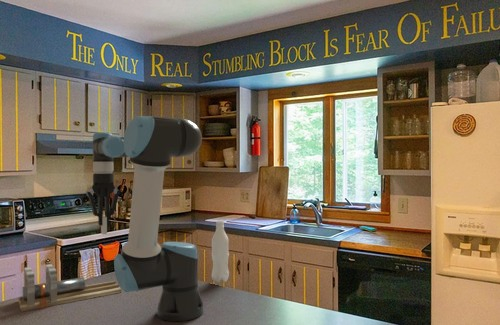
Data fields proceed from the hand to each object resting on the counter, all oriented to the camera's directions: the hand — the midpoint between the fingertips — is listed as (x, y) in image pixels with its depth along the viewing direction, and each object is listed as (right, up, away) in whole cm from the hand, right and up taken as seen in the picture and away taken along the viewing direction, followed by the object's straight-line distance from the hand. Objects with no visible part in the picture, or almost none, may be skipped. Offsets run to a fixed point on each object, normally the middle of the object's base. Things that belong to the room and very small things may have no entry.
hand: (104, 233), depth 156 cm
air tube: (-15, -21, -10) cm, 27 cm away
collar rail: (-10, -22, -6) cm, 25 cm away
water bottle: (+44, -22, +11) cm, 51 cm away
